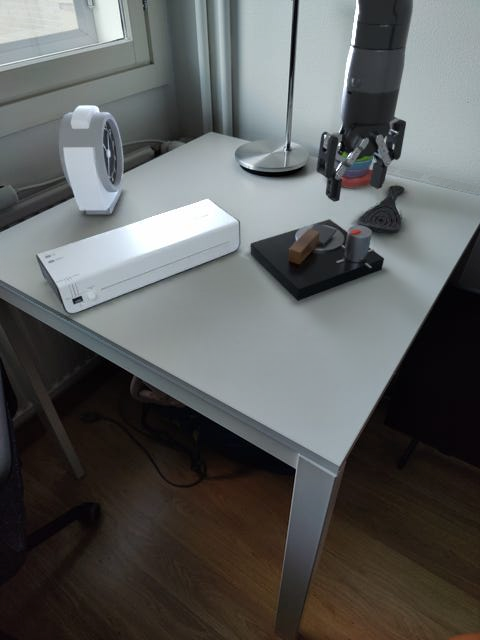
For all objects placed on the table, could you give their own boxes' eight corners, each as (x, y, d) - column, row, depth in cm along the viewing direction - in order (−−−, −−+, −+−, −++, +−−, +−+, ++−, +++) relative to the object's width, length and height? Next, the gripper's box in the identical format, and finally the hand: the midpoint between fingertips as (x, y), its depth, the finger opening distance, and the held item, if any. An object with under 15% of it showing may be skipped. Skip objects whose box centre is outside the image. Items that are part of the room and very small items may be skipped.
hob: (328, 229, 93) (330, 218, 92) (386, 272, 82) (389, 260, 80) (250, 254, 87) (250, 242, 85) (301, 304, 76) (302, 292, 74)
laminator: (210, 225, 95) (208, 198, 91) (244, 252, 88) (243, 223, 84) (45, 283, 81) (34, 253, 77) (69, 321, 74) (58, 290, 69)
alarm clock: (114, 222, 97) (92, 123, 84) (74, 223, 97) (45, 124, 84) (131, 185, 110) (114, 94, 97) (96, 185, 111) (74, 94, 97)
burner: (324, 222, 91) (325, 220, 91) (354, 243, 85) (354, 241, 85) (286, 233, 88) (286, 232, 87) (313, 256, 82) (313, 255, 82)
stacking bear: (381, 178, 111) (396, 99, 99) (357, 193, 105) (370, 111, 93) (343, 166, 116) (353, 90, 105) (319, 179, 111) (327, 100, 99)
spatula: (315, 225, 88) (316, 213, 86) (336, 231, 86) (337, 219, 84) (283, 258, 81) (283, 246, 80) (305, 266, 80) (306, 254, 78)
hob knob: (357, 247, 84) (361, 221, 80) (371, 258, 81) (377, 232, 78) (339, 253, 82) (343, 227, 79) (353, 264, 80) (358, 238, 76)
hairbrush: (419, 180, 103) (396, 227, 86) (415, 195, 106) (392, 244, 88) (382, 174, 106) (353, 218, 89) (379, 189, 108) (350, 235, 91)
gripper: (393, 69, 68) (373, 175, 79) (313, 83, 63) (304, 194, 74) (431, 81, 63) (405, 192, 74) (347, 97, 58) (332, 214, 69)
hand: (354, 193), depth 74 cm, fingers open, 8 cm apart
